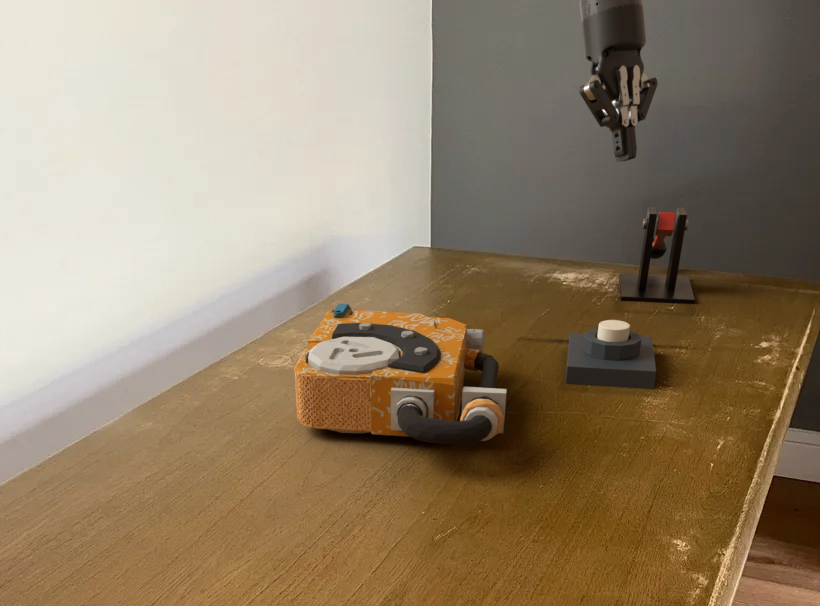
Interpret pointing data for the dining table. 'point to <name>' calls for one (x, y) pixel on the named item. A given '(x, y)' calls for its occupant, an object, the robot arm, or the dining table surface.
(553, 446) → the dining table surface
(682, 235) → the lever bracket
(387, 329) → the device
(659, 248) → the red lever
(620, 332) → the stop button
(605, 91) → the robot arm
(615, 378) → the base block
